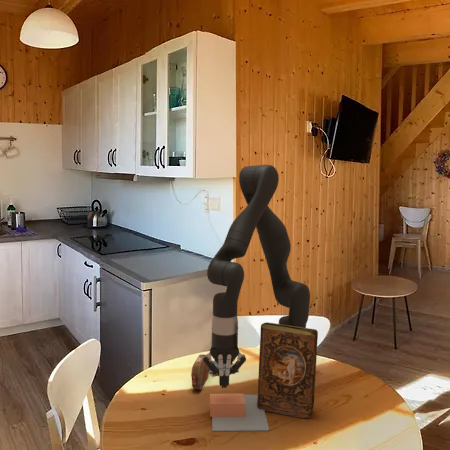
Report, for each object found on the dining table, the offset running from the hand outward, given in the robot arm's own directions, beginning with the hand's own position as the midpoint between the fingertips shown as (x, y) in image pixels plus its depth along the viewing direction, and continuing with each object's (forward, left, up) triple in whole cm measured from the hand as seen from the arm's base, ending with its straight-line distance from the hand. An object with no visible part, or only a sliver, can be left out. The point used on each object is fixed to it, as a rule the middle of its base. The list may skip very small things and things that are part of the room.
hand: (224, 386), depth 141 cm
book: (-18, -1, -8) cm, 20 cm away
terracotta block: (+4, 0, -6) cm, 7 cm away
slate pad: (-4, 0, -8) cm, 9 cm away
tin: (+7, -19, -8) cm, 22 cm away
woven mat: (0, -30, -9) cm, 31 cm away
